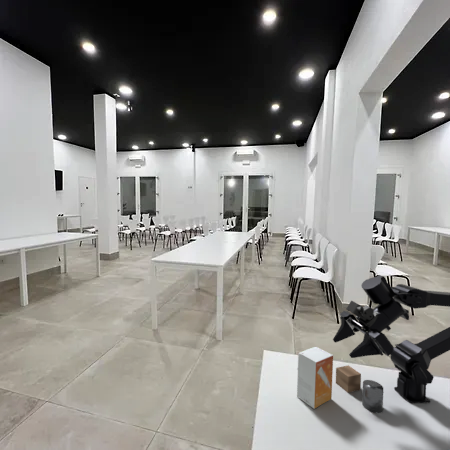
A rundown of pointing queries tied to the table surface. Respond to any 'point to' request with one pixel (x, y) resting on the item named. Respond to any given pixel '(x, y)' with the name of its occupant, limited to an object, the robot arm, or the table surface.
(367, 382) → the charcoal metal cylinder
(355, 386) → the walnut block
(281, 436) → the table surface
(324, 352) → the small box
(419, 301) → the robot arm
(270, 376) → the table surface
